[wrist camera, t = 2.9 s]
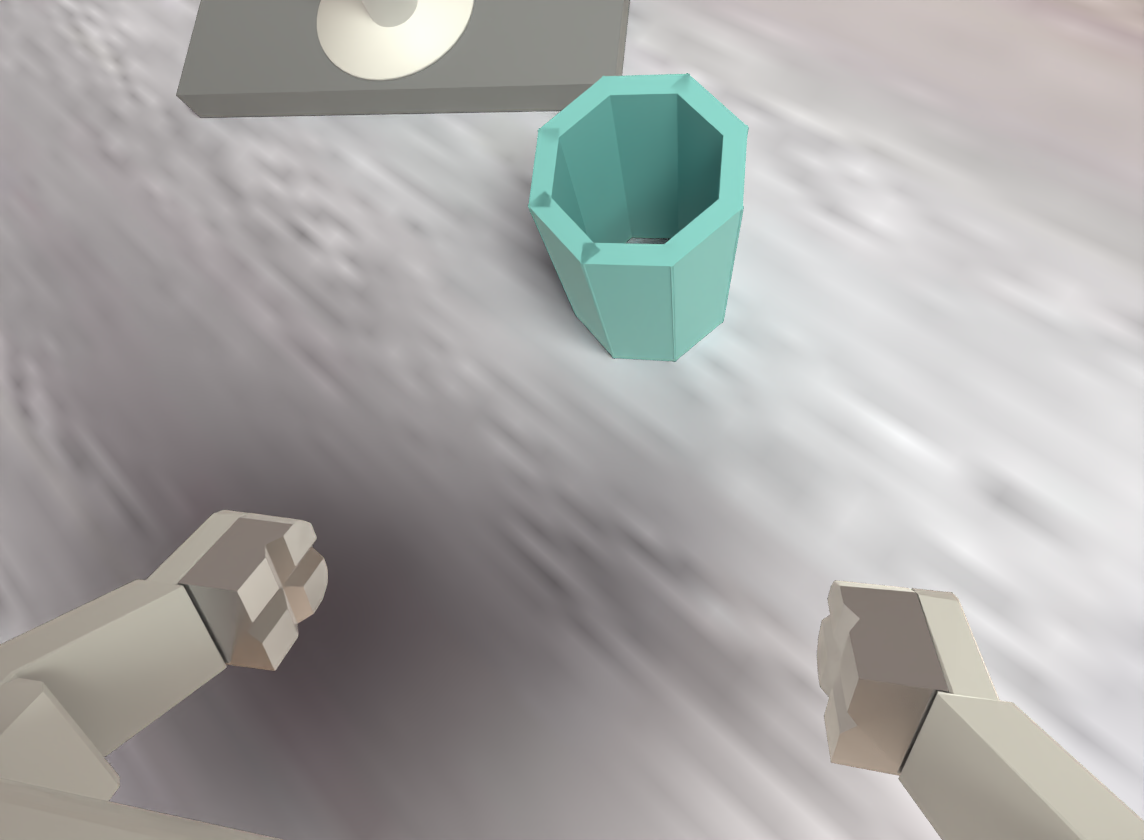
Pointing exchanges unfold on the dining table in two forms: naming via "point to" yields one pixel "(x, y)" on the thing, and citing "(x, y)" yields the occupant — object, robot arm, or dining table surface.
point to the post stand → (398, 55)
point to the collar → (642, 210)
